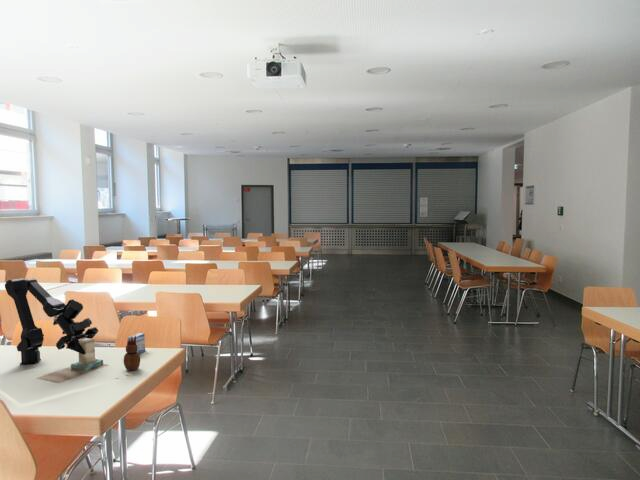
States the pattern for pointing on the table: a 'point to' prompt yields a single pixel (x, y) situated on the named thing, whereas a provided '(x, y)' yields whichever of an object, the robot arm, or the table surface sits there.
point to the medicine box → (139, 341)
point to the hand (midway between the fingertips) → (89, 352)
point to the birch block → (87, 351)
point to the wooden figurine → (131, 355)
